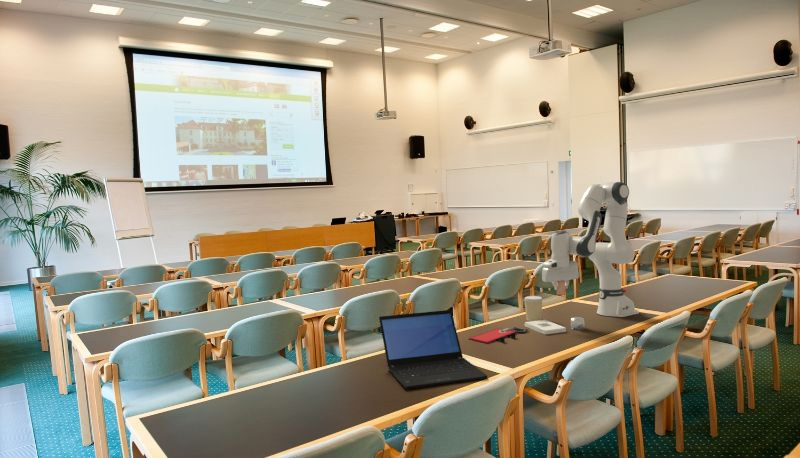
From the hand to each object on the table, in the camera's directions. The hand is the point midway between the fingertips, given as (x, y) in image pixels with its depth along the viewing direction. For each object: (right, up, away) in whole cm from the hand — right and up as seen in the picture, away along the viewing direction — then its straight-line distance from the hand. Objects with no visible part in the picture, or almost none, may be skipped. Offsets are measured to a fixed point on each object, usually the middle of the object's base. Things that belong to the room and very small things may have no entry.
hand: (560, 289), depth 281 cm
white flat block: (-10, -19, -7) cm, 23 cm away
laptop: (-70, -26, -61) cm, 97 cm away
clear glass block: (+6, -19, -8) cm, 21 cm away
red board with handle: (-34, -21, -17) cm, 43 cm away
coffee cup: (-11, -18, +11) cm, 24 cm away
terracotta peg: (0, -3, 0) cm, 3 cm away
